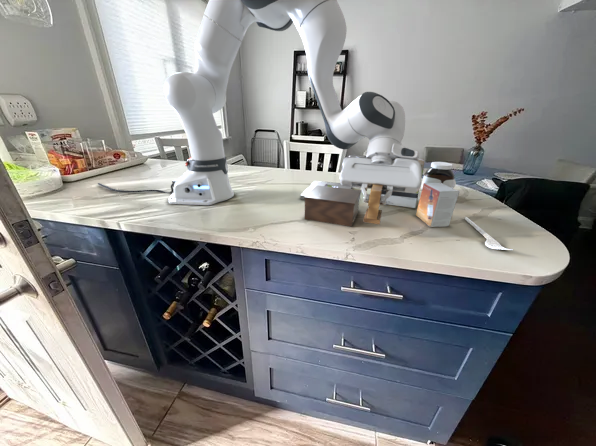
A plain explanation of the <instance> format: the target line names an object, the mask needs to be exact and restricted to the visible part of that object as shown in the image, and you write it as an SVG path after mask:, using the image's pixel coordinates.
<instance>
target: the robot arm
mask: <svg viewBox="0 0 596 446" xmlns="http://www.w3.org/2000/svg"><path fill="white" fill-rule="evenodd" d="M341 8H342V7H340V4H339V2H338V0H208V2H207V5H206V7H205V10H204V12H203V15H202V19H201V21H200V25H199V27H198V30H197V34H196V35H195V39H194V41H193V42H194V43H193V48H194V52H195V64H194V71H193V73H192V72H189V71H180V72H175V73H172V74H170V75H168V76H167V77H166V78H165V80H164V82H163V87H162V88H163V90H162V91H163V96H164V98H165V100H166V103H167V105H169V106H170V108H172V109H173V110H174V112H175V113H176V114H177V117H178V118H179V121H180V123H181V125H182V127H183V130H184V132H185V135H186V138H187V145H188V147H189V154H190V157H188V159H187V160H186V161H185V163H184V164H185V167H186V168H187V170H186V171H185V172H183V174H182V175H180V176H179V177H178V178H176V179H174V180H171V184H170V190H171V191H169V192H168V191H163V190H161V189H140V190H138V189H137V190H125V189H124V190H123V189H115V188H111V187H109V186H107V185H105V184H103V183H101V182H97V185H99V186H100V187H102V188H104V189H108V190H110V191H112V192H118V193H149V192H158V193H161V194H170V196H168V198H167V200H168V204H170V205H189V206H190V205H191V206H195V205H196V206H212V205H215V204H217V203H221V202H224V201H227V200H230V199H232V198H233V197H234V196H235V193H234V190H233V188H232V185H231V181H230V178H229V166H228V160H227V156H226V154H225V146H224V140H223V138H224V137H223V134H222V131H221V130H220V129H219V127H218V124H217V122H216V120H215V117H214V114H215V113H217V112H219V111H221V110H222V109H223V108H224V107H225V106H226V103H227V90H228V85H229V84H228V83H229V80H230V74H231V71H232V68H233V65H234V62H235V60H236V57H237V55H238V52H239V50H240V47H241V46H242V43H243V40H244V37H245V35H246V32H247V31H248V28H249V27H250V26H251V25H252V24H253V23H256V25H257V26H258V27H260V28H263V29H267V30H270V31H274V32H284V31H286V30H288V29H289V28H291V26H292V25H293V24H294V26H295V28H296V30H297V32H298V34H299V36H300V38H301V41H302V44H303V47H304V51H305V55H306V56H305V57H306V62H307V66H306V68H307V70H306V71H307V75H308V80H309V83H310V86H311V88H312V92H313V94H314V97H315V99H316V102H317V105H318V108H319V111H320V114H321V116H322V119H323V122H324V127H325V132H326V137H327V139H328V141H329V142H330V143H331V145H332V146H333V147H335V148H338V149H340V150H349V149H351V148H352V147H353V146H355V145H356V144H357V143H358V142H359V141H361V140H363V139H364V138H366V139H368V144H367V150H366V154H365V155H362V154H359V155H358V154H350V155H347V156H346V157H344V158H343V160H342V164H341V165H342V168H341V171H340V174H339V183H341V184H342V185H343V186H349V187H352V188H360V189H361V193H362V195H363V199H362V200H363V203H365V204H368V202H369V195H370V193H368V189H370V190H371V189H372V186H373V184H376V185H383V188H382V190H387V191H386V194H385V196H381V199H380V206H381V205H382V206H386V205H387V204H386V199H388V198H389V197H390V196H391V195H392V191H397V192H406V193H416V192H418V191H419V192H420V190H421V188H422V181H423V175H422V170H421V165H420V163H419V162H418V159H420V152H419V151H418V150H416V149H413V148H410V147H406V146H404V145H403V144H402V140H403V138H404V135H405V130H406V114H405V109H404V107H403V106H402V105H401V103H400V102H398V101H394V100H389V99H388V98H386V97H385V96H383V95H382V94H379V93H377V92H374V91H365V92H363V93H361V94H360V95H359V96H357V98H355V99H354V100H353V101H352V102H350V103H349V105H347V106H346V107H344V108H343V109H342V106H341V104H340V101H339V98H338V95H337V92H336V89H335V87H334V73H335V68H336V65H337V62H338V61H339V58H340V55H341V53H342V51H343V49H344V46H345V42H346V38H347V29H348V28H347V23H346V22H347V21H346V18H345V15H344V13H343V11H342V9H341Z"/></svg>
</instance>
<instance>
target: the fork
mask: <svg viewBox="0 0 596 446" xmlns="http://www.w3.org/2000/svg"><path fill="white" fill-rule="evenodd" d="M463 219H464V220H465V221H466V222H467V223H468V224H469V225H471V226H472V227H473V228H474V229H475V230H476V231H477V232H478V233H479V234H481V235H482V236H483V237H484V238H485V239H486V240H485V241H484V245H485V246H486V247H487V248H489V249H493V250H502V251H513V250H514V249H510V248H507V247H504V246H502V244H501V243H500V242H498V241H497V240H496V239H495V238H494V237H492V236H491V235H490V234H489V233H487V232H486V231H485V230H484V229H483V228H481V227H480V226H479V225H478V224H477V223H475V222H474V221H473V220H471V219H470V218H469V217H468V216H465V217H463Z"/></svg>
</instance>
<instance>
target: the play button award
mask: <svg viewBox="0 0 596 446" xmlns="http://www.w3.org/2000/svg"><path fill="white" fill-rule="evenodd" d="M317 185H319V186H328V187H336V188H345V189H353V187H349V186H343V185H342V184H341V182H336V181H335V182H334V181H333V182H332V181H324V180H323V181H321V180H313V181H312V182H311V183H310V185H309V186H308V187H307V188H306V189H304V190H303V192H302V193H301V194H300V200H304V201H305V199H304V197H305V196H306V195H307V194H308V193H309V192H310V191H311V190H312V189H313V188H315V187H316V186H317Z"/></svg>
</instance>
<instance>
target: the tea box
mask: <svg viewBox="0 0 596 446" xmlns="http://www.w3.org/2000/svg"><path fill="white" fill-rule="evenodd" d="M418 162H419V163H420V165H421V170H422V176H424V169H425V158H419V159H418ZM386 191H387V190H382V195H381V196H385V194H386ZM419 193H420V190H419V191H418V192H416V193H406V192H397V191H392V195H391V196H390V197H389V198H388V199H386V205H390V206H397V207H405V208H410V209H416V208H417V204H418V202H417V201H418V200H419V199H418V198H419Z"/></svg>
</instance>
